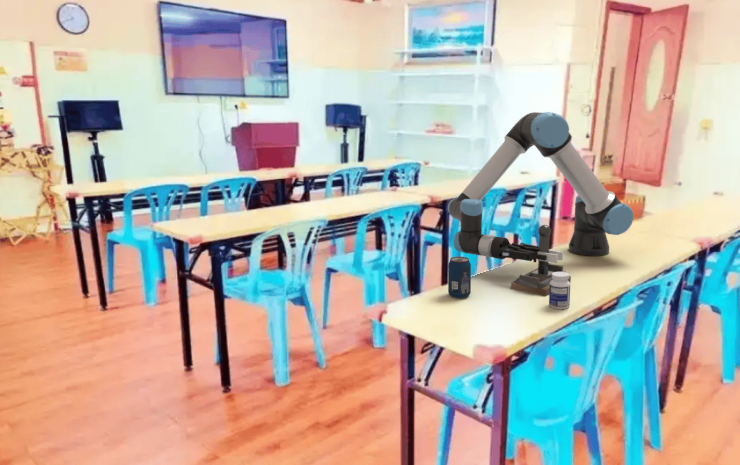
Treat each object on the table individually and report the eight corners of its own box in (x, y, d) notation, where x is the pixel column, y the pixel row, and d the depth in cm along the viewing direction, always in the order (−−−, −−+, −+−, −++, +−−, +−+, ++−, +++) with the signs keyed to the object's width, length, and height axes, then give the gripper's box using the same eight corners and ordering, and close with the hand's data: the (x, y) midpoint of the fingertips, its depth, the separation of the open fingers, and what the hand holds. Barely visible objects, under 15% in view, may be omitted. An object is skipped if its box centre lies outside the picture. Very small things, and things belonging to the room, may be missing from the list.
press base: (535, 275, 193) (536, 261, 192) (572, 282, 184) (572, 267, 183) (509, 288, 180) (509, 273, 179) (547, 296, 171) (547, 280, 170)
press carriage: (538, 275, 186) (540, 222, 182) (554, 278, 182) (556, 224, 178) (531, 278, 182) (533, 225, 179) (547, 281, 179) (549, 227, 175)
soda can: (454, 290, 179) (454, 254, 177) (474, 294, 175) (474, 257, 173) (444, 297, 174) (444, 260, 171) (464, 300, 170) (464, 263, 167)
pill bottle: (554, 301, 167) (556, 269, 165) (572, 306, 163) (574, 273, 161) (545, 306, 163) (546, 274, 161) (563, 311, 159) (565, 277, 157)
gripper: (506, 252, 199) (570, 263, 184) (482, 262, 188) (547, 275, 172) (506, 232, 198) (571, 241, 182) (482, 241, 186) (548, 251, 170)
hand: (559, 257), depth 177 cm, fingers closed on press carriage, 3 cm apart
